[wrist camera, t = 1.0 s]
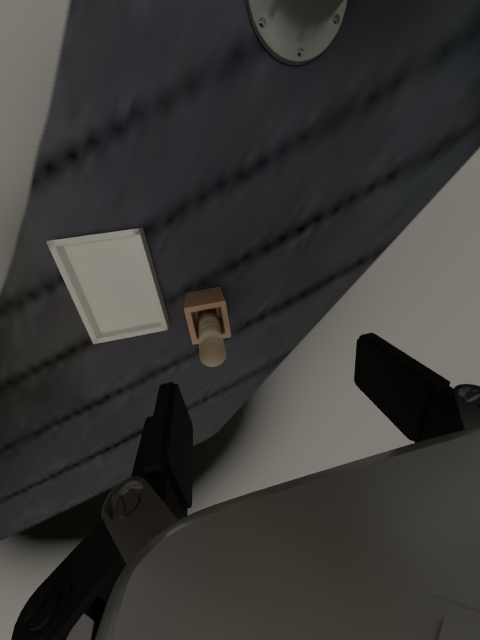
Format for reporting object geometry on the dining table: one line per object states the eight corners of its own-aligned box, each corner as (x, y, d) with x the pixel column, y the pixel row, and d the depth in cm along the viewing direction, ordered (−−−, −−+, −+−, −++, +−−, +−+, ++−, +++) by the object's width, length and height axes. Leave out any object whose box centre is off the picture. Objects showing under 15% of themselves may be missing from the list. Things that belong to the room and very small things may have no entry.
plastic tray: (58, 239, 33) (46, 241, 30) (142, 227, 34) (138, 228, 32) (100, 335, 39) (93, 344, 37) (169, 322, 41) (168, 329, 38)
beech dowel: (196, 300, 39) (197, 346, 25) (213, 297, 39) (224, 341, 25) (199, 316, 40) (202, 369, 26) (216, 313, 41) (228, 363, 26)
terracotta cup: (185, 292, 39) (183, 308, 32) (219, 286, 40) (225, 300, 33) (193, 323, 42) (192, 344, 34) (225, 317, 42) (231, 336, 35)
